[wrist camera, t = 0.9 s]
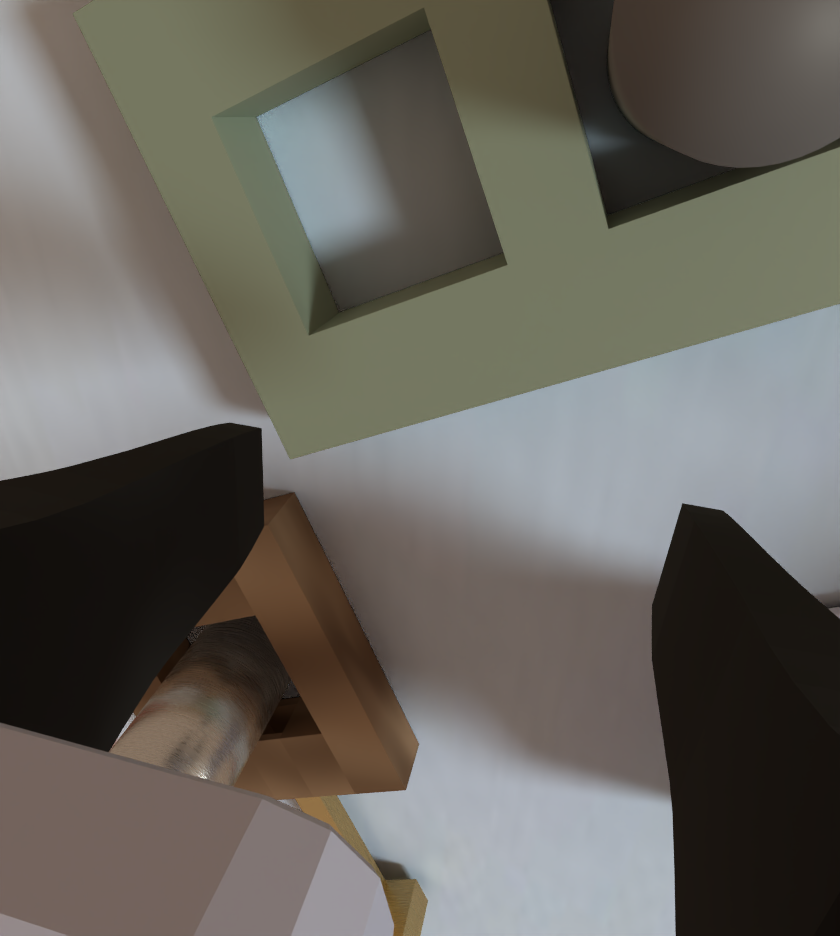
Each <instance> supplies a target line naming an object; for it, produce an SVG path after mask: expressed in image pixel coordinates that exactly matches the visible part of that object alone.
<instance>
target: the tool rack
mask: <svg viewBox="0 0 840 936" xmlns="http://www.w3.org/2000/svg"><path fill="white" fill-rule="evenodd" d="M73 15H74V17H75V19H76V21H77V23H78V26H79V28H80V30H81V32H82V34H83V36H84V38H85V40H86V42H87V44H88V46H89V48H90V50H91V52H92V54H93V56H94V58H95V60H96V62H97V64H98V67H99V69H100V71H101V73H102V75H103V77H104V79H105V81H106V83H107V85H108V87H109V89H110V91H111V93H112V95H113V97H114V99H115V101H116V103H117V105H118V108H119V110H120V112H121V114H122V116H123V118H124V120H125V122H126V124H127V126H128V128H129V130H130V132H131V134H132V136H133V138H134V140H135V142H136V144H137V146H138V148H139V151H140V153H141V155H142V157H143V159H144V161H145V163H146V165H147V167H148V169H149V171H150V173H151V175H152V177H153V179H154V181H155V183H156V185H157V187H158V189H159V192H160V194H161V196H162V198H163V200H164V202H165V204H166V206H167V208H168V210H169V212H170V214H171V216H172V218H173V220H174V222H175V224H176V226H177V228H178V230H179V232H180V235H181V237H182V239H183V241H184V243H185V245H186V247H187V249H188V251H189V253H190V255H191V257H192V259H193V261H194V263H195V265H196V267H197V269H198V271H199V273H200V276H201V278H202V280H203V282H204V284H205V286H206V288H207V290H208V292H209V294H210V296H211V298H212V300H213V302H214V304H215V306H216V308H217V310H218V312H219V314H220V317H221V319H222V321H223V323H224V325H225V327H226V329H227V331H228V333H229V335H230V337H231V339H232V341H233V343H234V345H235V347H236V349H237V351H238V353H239V355H240V357H241V360H242V362H243V364H244V366H245V368H246V370H247V372H248V374H249V376H250V378H251V380H252V382H253V384H254V386H255V388H256V390H257V392H258V394H259V396H260V398H261V401H262V403H263V405H264V407H265V409H266V411H267V413H268V415H269V417H270V419H271V421H272V423H273V425H274V427H275V429H276V431H277V433H278V435H279V437H280V439H281V441H282V444H283V446H284V448H285V450H286V452H287V454H288V456H289V458H290V459H294V458H297V457H301V456H304V455H308V454H311V453H315V452H318V451H322V450H325V449H329V448H332V447H336V446H339V445H343V444H346V443H350V442H353V441H357V440H361V439H364V438H368V437H371V436H375V435H378V434H382V433H385V432H389V431H392V430H396V429H399V428H403V427H406V426H410V425H413V424H417V423H420V422H424V421H428V420H431V419H435V418H438V417H442V416H445V415H449V414H452V413H456V412H459V411H463V410H466V409H470V408H473V407H477V406H480V405H484V404H488V403H491V402H495V401H498V400H502V399H505V398H509V397H512V396H516V395H519V394H523V393H526V392H530V391H533V390H537V389H540V388H544V387H547V386H551V385H555V384H558V383H562V382H565V381H569V380H572V379H576V378H579V377H583V376H586V375H590V374H593V373H597V372H600V371H604V370H607V369H611V368H615V367H618V366H622V365H625V364H629V363H632V362H636V361H639V360H643V359H646V358H650V357H653V356H657V355H660V354H664V353H667V352H671V351H674V350H678V349H682V348H685V347H689V346H692V345H696V344H699V343H703V342H706V341H710V340H713V339H717V338H720V337H724V336H727V335H731V334H734V333H738V332H742V331H745V330H749V329H752V328H756V327H759V326H763V325H766V324H770V323H773V322H777V321H780V320H784V319H787V318H791V317H794V316H798V315H801V314H805V313H809V312H812V311H816V310H819V309H823V308H826V307H830V306H833V305H837V304H840V0H614V5H613V13H612V20H611V28H610V36H609V44H608V54H607V72H608V80H609V85H610V89H611V92H612V95H613V98H614V101H615V103H616V105H617V107H618V109H619V110H620V112H621V113H622V115H623V116H624V118H625V119H626V120H627V121H628V122H629V123H630V125H631V126H632V127H634V128H635V129H636V130H637V131H639V132H640V133H641V134H643V135H645V136H646V137H648V138H650V139H652V140H654V141H656V142H658V143H661V144H663V145H665V146H667V147H669V148H671V149H673V150H676V151H678V152H680V153H682V154H684V155H686V156H689V157H691V158H694V159H696V160H699V161H701V162H705V163H710V164H714V165H718V166H726V167H736V168H737V169H734V170H731V171H728V172H726V173H723V174H720V175H717V176H714V177H712V178H709V179H706V180H703V181H701V182H698V183H695V184H692V185H690V186H687V187H684V188H681V189H679V190H676V191H673V192H670V193H668V194H665V195H662V196H659V197H657V198H654V199H651V200H648V201H645V202H643V203H640V204H637V205H634V206H632V207H629V208H626V209H623V210H621V211H618V212H615V213H612V214H610V215H607V212H606V208H605V205H604V201H603V197H602V193H601V190H600V186H599V182H598V178H597V175H596V171H595V167H594V163H593V160H592V156H591V152H590V148H589V145H588V141H587V137H586V133H585V130H584V126H583V122H582V118H581V115H580V111H579V107H578V103H577V100H576V96H575V92H574V88H573V85H572V81H571V77H570V73H569V70H568V66H567V62H566V58H565V55H564V51H563V47H562V43H561V40H560V36H559V32H558V28H557V25H556V21H555V17H554V14H553V10H552V6H551V2H550V0H93V1H92V2H90V3H88V4H87V5H85V6H84V7H82V8H81V9H79V10H78V11H76V12H74V13H73ZM430 29H431V31H432V34H433V37H434V40H435V43H436V46H437V49H438V52H439V56H440V59H441V62H442V65H443V68H444V71H445V74H446V77H447V80H448V83H449V86H450V89H451V92H452V95H453V99H454V102H455V105H456V108H457V111H458V114H459V117H460V120H461V123H462V126H463V129H464V132H465V135H466V138H467V142H468V145H469V148H470V151H471V154H472V157H473V160H474V163H475V166H476V169H477V172H478V175H479V178H480V181H481V185H482V188H483V191H484V194H485V197H486V200H487V203H488V206H489V209H490V212H491V215H492V218H493V221H494V224H495V228H496V231H497V234H498V237H499V240H500V243H501V246H502V249H503V252H504V253H502V254H499V255H496V256H494V257H491V258H488V259H485V260H483V261H480V262H477V263H474V264H471V265H469V266H466V267H463V268H460V269H458V270H455V271H452V272H449V273H447V274H444V275H441V276H438V277H436V278H433V279H430V280H427V281H425V282H422V283H419V284H416V285H414V286H411V287H408V288H405V289H402V290H400V291H397V292H394V293H391V294H389V295H386V296H383V297H380V298H378V299H375V300H372V301H369V302H367V303H364V304H361V305H358V306H356V307H353V308H350V309H347V310H344V311H342V312H339V311H338V309H337V306H336V304H335V302H334V299H333V297H332V295H331V292H330V290H329V288H328V285H327V283H326V281H325V278H324V276H323V273H322V271H321V269H320V266H319V264H318V262H317V259H316V257H315V255H314V252H313V250H312V247H311V245H310V243H309V240H308V238H307V236H306V233H305V231H304V229H303V226H302V224H301V222H300V219H299V217H298V214H297V212H296V210H295V207H294V205H293V203H292V200H291V198H290V196H289V193H288V191H287V188H286V186H285V184H284V181H283V179H282V177H281V174H280V172H279V170H278V167H277V165H276V163H275V160H274V158H273V155H272V153H271V151H270V148H269V146H268V144H267V141H266V139H265V137H264V134H263V132H262V130H261V127H260V125H259V122H258V120H257V118H256V117H257V116H259V115H261V114H263V113H265V112H267V111H269V110H271V109H273V108H275V107H277V106H279V105H281V104H283V103H285V102H287V101H289V100H291V99H293V98H295V97H297V96H299V95H301V94H303V93H305V92H307V91H309V90H311V89H313V88H315V87H317V86H319V85H321V84H323V83H325V82H327V81H329V80H331V79H333V78H335V77H337V76H339V75H341V74H343V73H345V72H347V71H349V70H351V69H353V68H355V67H357V66H359V65H361V64H363V63H365V62H367V61H369V60H371V59H373V58H375V57H377V56H379V55H381V54H383V53H385V52H387V51H389V50H390V49H392V48H394V47H396V46H398V45H400V44H402V43H404V42H406V41H408V40H410V39H412V38H414V37H416V36H418V35H420V34H422V33H424V32H426V31H428V30H430Z"/></svg>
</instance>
